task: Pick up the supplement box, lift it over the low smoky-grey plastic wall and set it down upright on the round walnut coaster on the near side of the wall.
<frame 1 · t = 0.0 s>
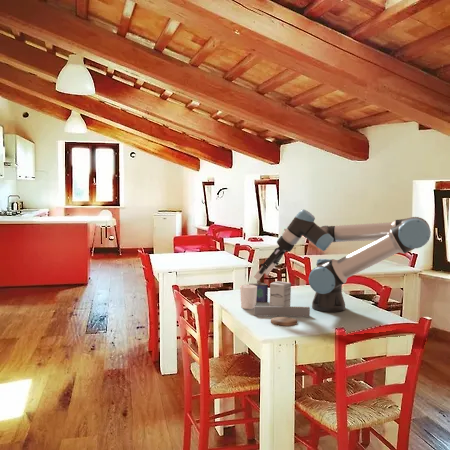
hand: (261, 276, 229), 15 cm above the table, tool tilted 35°, fingers open, 13 cm apart
white cup: (248, 307, 232), on the table
coaster: (283, 322, 208), on the table
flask: (258, 302, 244), on the table
supplement box: (279, 310, 228), on the table
low wall: (281, 315, 218), on the table
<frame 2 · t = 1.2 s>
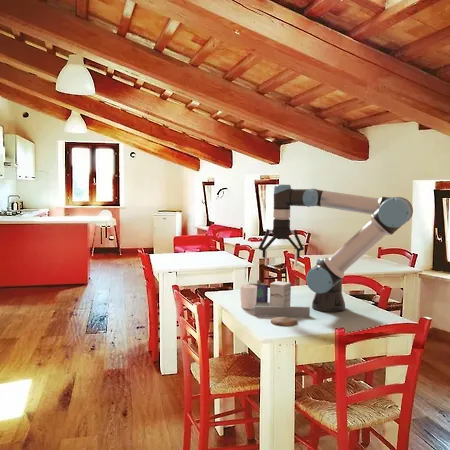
hand: (280, 265, 226), 21 cm above the table, tool pointing down, fingers open, 13 cm apart
nothing on the table moved.
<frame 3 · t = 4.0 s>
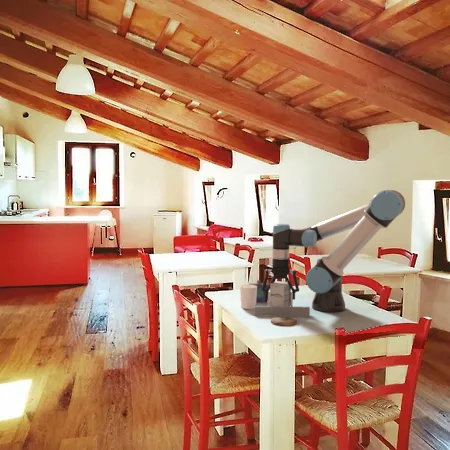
hand: (280, 306, 228), 2 cm above the table, tool pointing down, fingers closed on supplement box, 10 cm apart
supplement box: (279, 310, 228), on the table, touching gripper
everything else where it was.
when the fingers open (4 cm above the table, at t = 10.6 s): supplement box drops 2 cm, resting on coaster.
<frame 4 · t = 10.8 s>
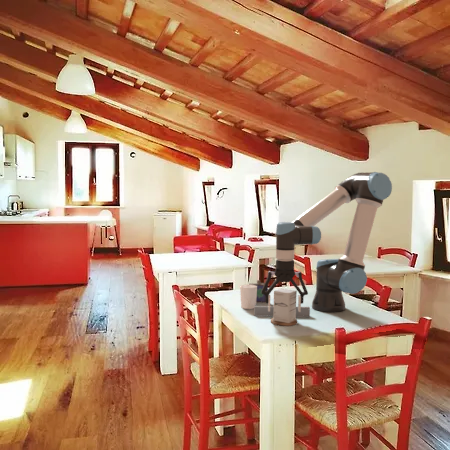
hand: (284, 311, 208), 5 cm above the table, tool pointing down, fingers open, 12 cm apart
supplement box: (284, 320, 208), point 1 cm above the table, touching coaster
everything else where it was.
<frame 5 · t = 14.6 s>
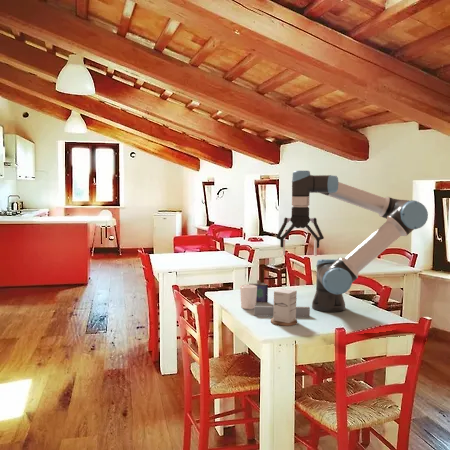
hand: (299, 255, 217), 27 cm above the table, tool pointing down, fingers open, 13 cm apart
nothing on the table moved.
at the end: supplement box inside the target area on the coaster (0.3 cm from its centre), point 0.6 cm above the coaster's base; supplement box tilted 0°; the gripper is holding nothing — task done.
